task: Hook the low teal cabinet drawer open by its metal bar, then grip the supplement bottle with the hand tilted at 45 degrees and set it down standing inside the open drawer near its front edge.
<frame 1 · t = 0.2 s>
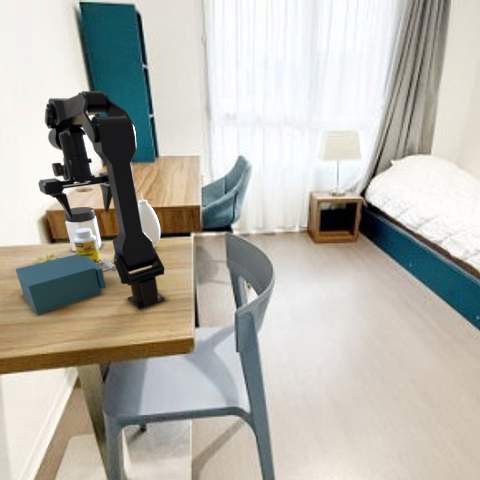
hand: (89, 214, 98), 15 cm above the table, tool pointing down, fingers open, 9 cm apart
supplement bottle: (90, 264, 104), on the table
drawer: (78, 276, 89), point 4 cm above the table, slide at 0.5 cm
cabinet: (62, 295, 88), on the table
jar: (87, 247, 116), on the table
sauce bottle: (149, 248, 116), on the table
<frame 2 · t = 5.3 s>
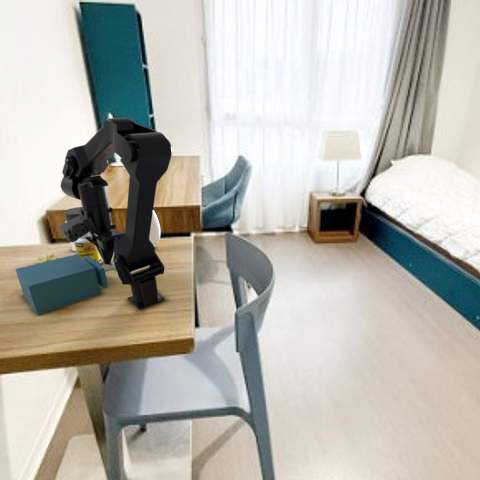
hand: (107, 264, 93), 5 cm above the table, tool pointing down, fingers closed, pressing on drawer
drawer: (80, 275, 90), point 4 cm above the table, slide at 1.1 cm, touching gripper
everything else where it was.
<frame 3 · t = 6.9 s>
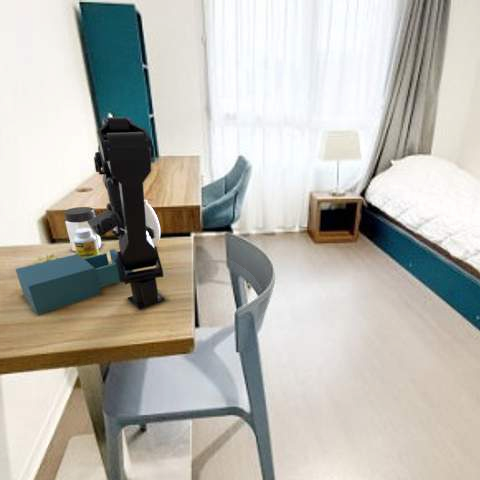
hand: (132, 257, 97), 5 cm above the table, tool pointing down, fingers closed, pressing on drawer
drawer: (107, 268, 94), point 4 cm above the table, slide at 7.6 cm, touching gripper
everything else where it was.
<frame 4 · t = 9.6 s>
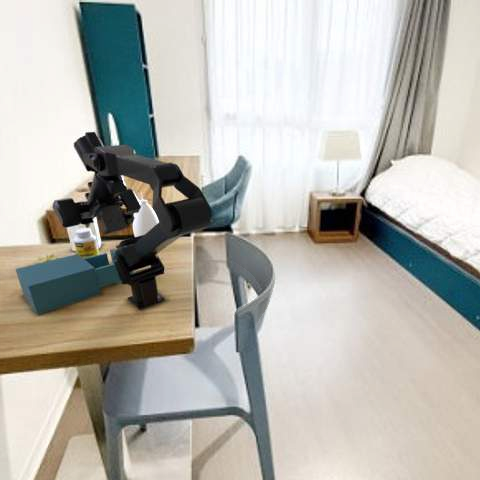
hand: (93, 224, 94), 14 cm above the table, tool tilted 45°, fingers open, 3 cm apart
drawer: (108, 268, 94), point 4 cm above the table, slide at 7.7 cm
everything else where it was.
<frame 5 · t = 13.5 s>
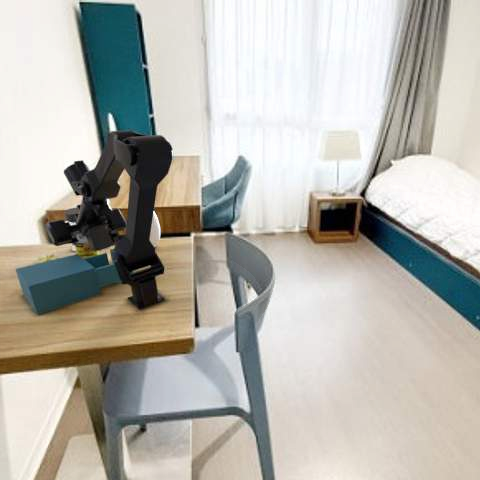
hand: (83, 241, 102), 7 cm above the table, tool tilted 45°, fingers closed on supplement bottle, 5 cm apart
supplement bottle: (90, 264, 104), on the table, touching gripper
everything else where it was.
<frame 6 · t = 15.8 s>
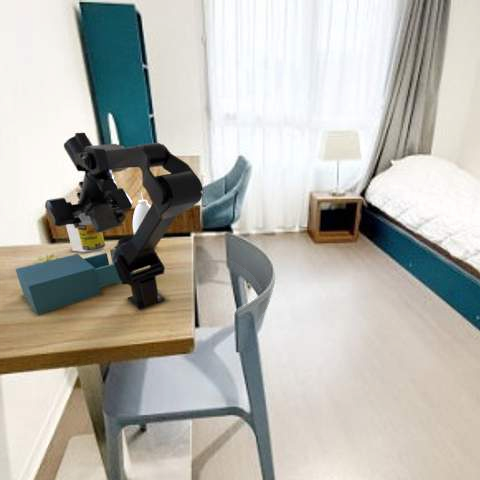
hand: (86, 224, 96), 13 cm above the table, tool tilted 45°, fingers closed on supplement bottle, 5 cm apart
supplement bottle: (94, 249, 98), point 6 cm above the table, touching gripper
everything else where it was.
when the fingers open (9 cm above the table, at t = 18.6 s): supplement bottle stays where it is, resting on drawer.
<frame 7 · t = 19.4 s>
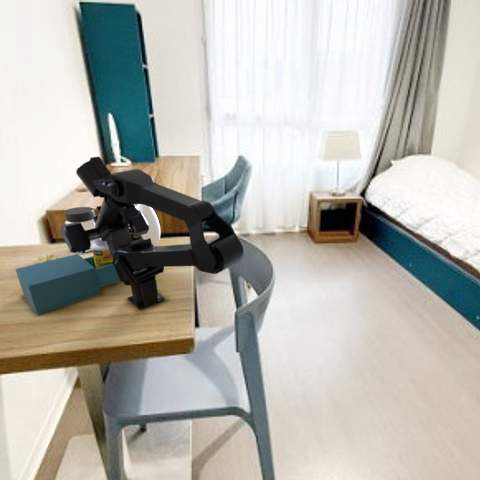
hand: (101, 246, 92), 9 cm above the table, tool tilted 45°, fingers open, 9 cm apart
supplement bottle: (109, 274, 94), point 2 cm above the table, touching drawer
drawer: (108, 268, 94), point 4 cm above the table, slide at 7.7 cm, touching supplement bottle
everything else where it was.
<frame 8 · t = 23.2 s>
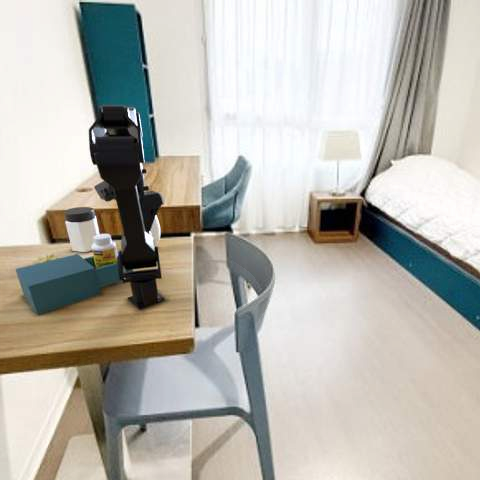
hand: (139, 227, 94), 13 cm above the table, tool pointing down, fingers open, 9 cm apart
nothing on the table moved.
at the end: drawer slide at 7.7 cm; supplement bottle inside the target area in the drawer (0.5 cm from its centre), point 1.8 cm above the cabinet's base; supplement bottle tilted 0° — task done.
